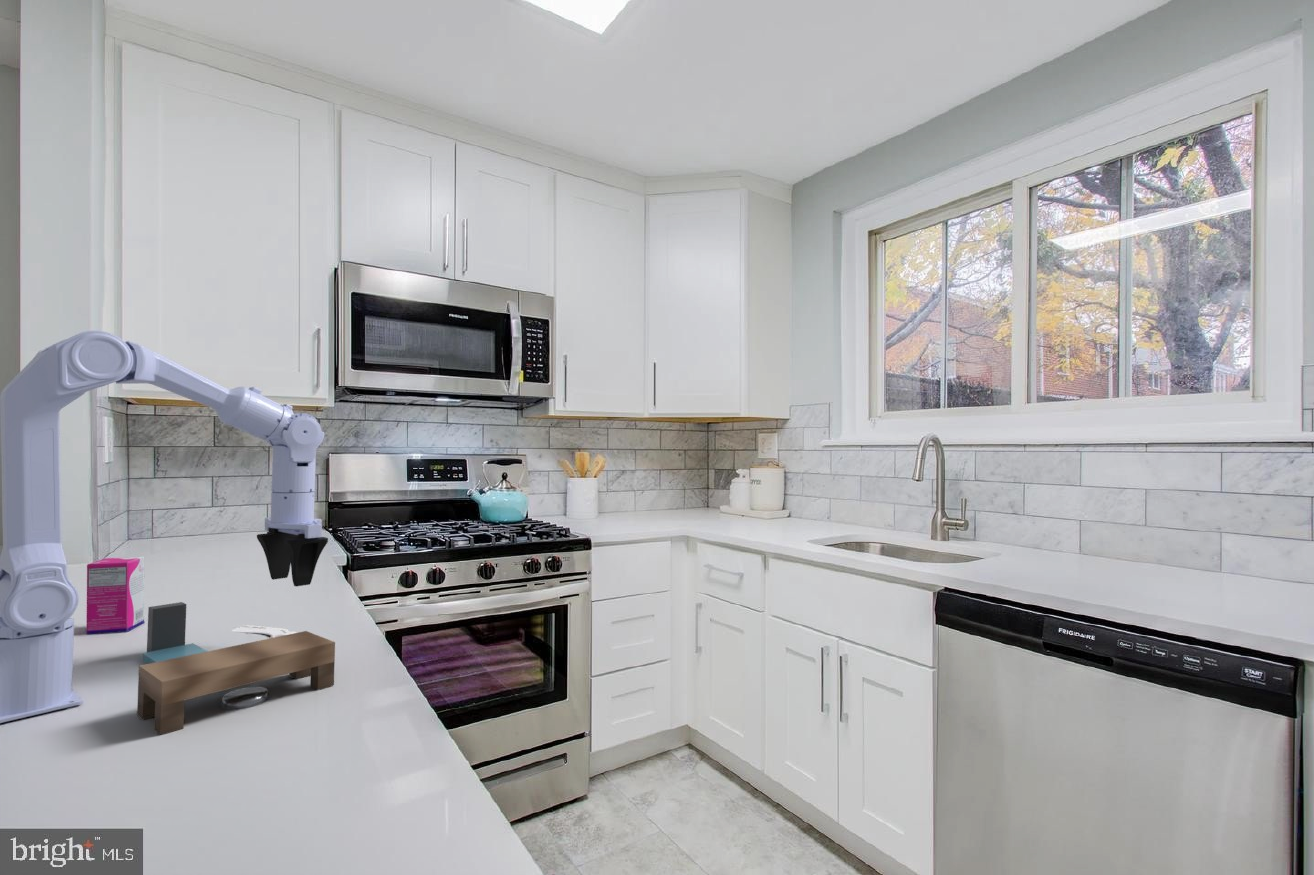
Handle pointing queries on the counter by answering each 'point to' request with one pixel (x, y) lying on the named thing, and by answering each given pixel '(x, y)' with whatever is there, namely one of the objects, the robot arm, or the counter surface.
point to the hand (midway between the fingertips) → (290, 581)
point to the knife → (264, 631)
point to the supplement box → (115, 595)
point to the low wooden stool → (229, 673)
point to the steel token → (244, 698)
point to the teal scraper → (167, 634)
